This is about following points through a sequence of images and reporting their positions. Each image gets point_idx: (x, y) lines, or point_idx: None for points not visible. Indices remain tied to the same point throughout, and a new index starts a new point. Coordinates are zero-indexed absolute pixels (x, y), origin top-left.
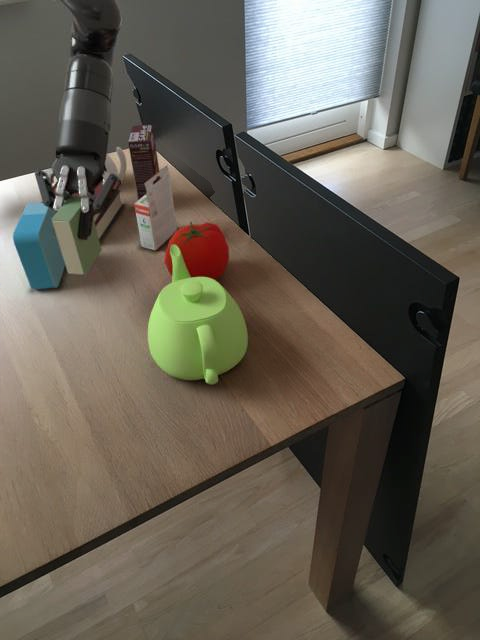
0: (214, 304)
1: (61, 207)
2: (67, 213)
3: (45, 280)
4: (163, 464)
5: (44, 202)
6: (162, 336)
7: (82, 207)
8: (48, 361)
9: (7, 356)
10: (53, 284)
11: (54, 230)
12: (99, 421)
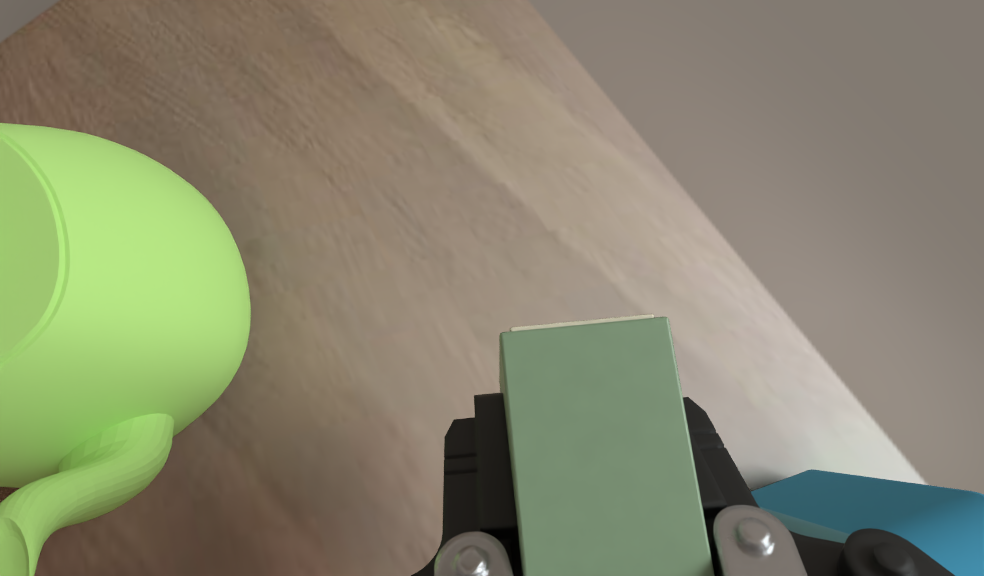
0: None
1: (696, 521)
2: (582, 436)
3: (765, 492)
4: (153, 5)
5: (906, 553)
6: (85, 142)
7: (501, 574)
8: (549, 194)
9: (673, 185)
10: None
11: (685, 406)
12: (327, 63)
